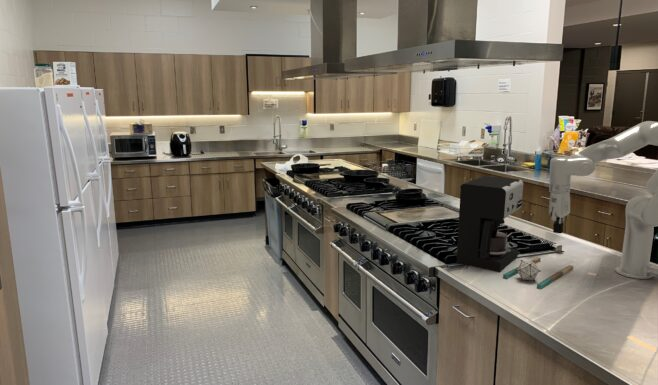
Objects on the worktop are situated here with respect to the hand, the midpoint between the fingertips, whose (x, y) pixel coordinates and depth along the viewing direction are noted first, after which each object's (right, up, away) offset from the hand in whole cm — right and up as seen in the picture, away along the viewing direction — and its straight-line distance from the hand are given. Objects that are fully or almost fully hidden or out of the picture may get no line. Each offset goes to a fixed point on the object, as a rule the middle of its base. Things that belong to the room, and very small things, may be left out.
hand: (558, 232), depth 195 cm
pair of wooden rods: (-8, -17, -1) cm, 19 cm away
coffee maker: (-25, -14, +13) cm, 31 cm away
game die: (-16, -18, -8) cm, 25 cm away
